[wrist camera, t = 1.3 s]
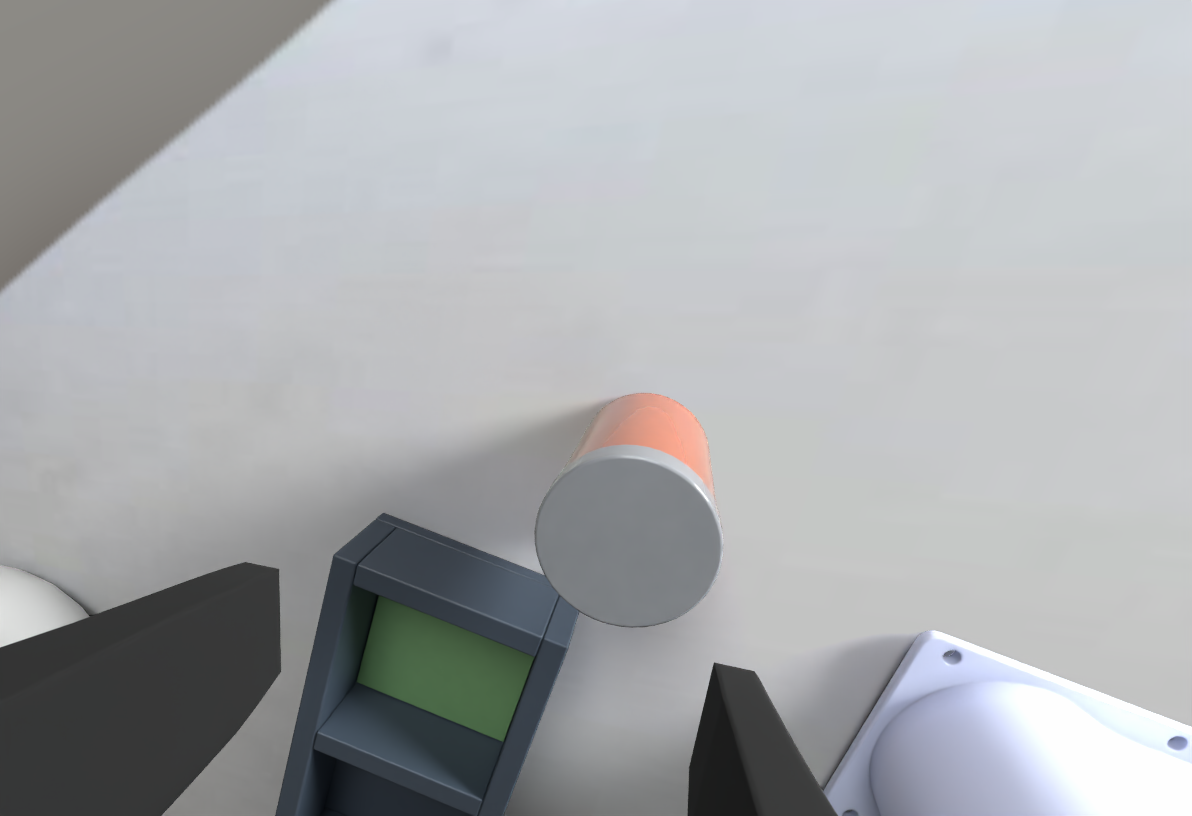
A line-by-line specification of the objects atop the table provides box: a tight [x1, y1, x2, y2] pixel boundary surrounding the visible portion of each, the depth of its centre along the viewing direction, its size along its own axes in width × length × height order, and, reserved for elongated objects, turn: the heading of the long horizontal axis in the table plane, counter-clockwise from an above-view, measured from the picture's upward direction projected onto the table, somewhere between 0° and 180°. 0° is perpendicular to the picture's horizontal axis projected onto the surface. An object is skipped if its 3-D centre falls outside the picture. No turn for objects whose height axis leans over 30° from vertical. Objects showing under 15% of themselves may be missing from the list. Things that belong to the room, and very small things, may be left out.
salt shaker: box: [535, 393, 724, 627], centre depth 15 cm, size 4×4×6 cm
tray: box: [275, 513, 579, 816], centre depth 21 cm, size 8×21×3 cm, turn 161°
